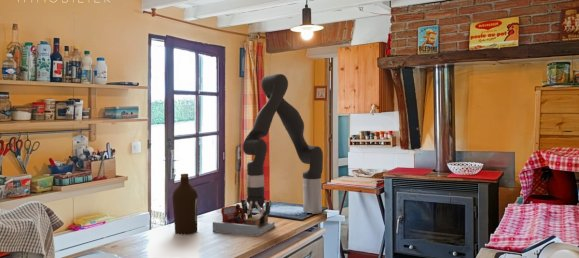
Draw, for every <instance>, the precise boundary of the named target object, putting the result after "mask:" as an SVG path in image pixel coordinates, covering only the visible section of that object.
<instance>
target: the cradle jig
mask: <svg viewBox="0 0 579 258" xmlns="http://www.w3.org/2000/svg"><path fill="white" fill-rule="evenodd" d="M272 228H275V221H270V222H268V224H266V225H264V226H263V227H261V228H259V226H255V225H245V224H235V223H226V222H222V221H215V220H214V221H213V222H212V232H217V233H225V234H233V235H242V236H248V237H249V236H251V237H258V236H260V235H262V234H263V233H265V232H268V231H270V230H271V229H272Z"/></svg>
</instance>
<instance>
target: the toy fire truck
mask: <svg viewBox="0 0 579 258" xmlns="http://www.w3.org/2000/svg"><path fill="white" fill-rule="evenodd" d="M220 213H221V215H222V217H221V218H222V219H221V220H222V221H221V222H226V223H235V224H245V225H246V219H247V214H246V213H243V209H242V207H241V205H240V204H239V203H237V204H236V205H229V206H224V207H222V208H221V211H220Z"/></svg>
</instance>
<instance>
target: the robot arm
mask: <svg viewBox="0 0 579 258" xmlns="http://www.w3.org/2000/svg"><path fill="white" fill-rule="evenodd" d="M288 80H289V79H288V78H287V76H286V75H284V74H282V73H277V74H270V75H265V76H264V77H262V78H261V83H260V84H261V85H260V86H261V89H262V90H263V93H264V95H265V96H266V97H267V101H266V103H265V104H264V105H263V106H262V108H261V109H260V110H259V111H258V114H257V115H256V118H255V119H254V122H253V126H252V129H251V130H250V131H249V133H248V134H247V136H246V138H245V139H244V141H243V144H242V150H243V153H244V154H245V155H248V156H254V158H253V160H249V161H248V162H247V164H246V171H247V173H246V196H247V198H243V199H241V200H240V203H241V208H242V209H243V213H245V215H246V219H248V218H250V217H252V216H253V214H252V213H253V211H254V209H257V210H258V213H260V214H261V225H263V224H265V222H266V220H265V219H266V217H265V216H266V215H268V216H269V215H270V213H271V208H272V207H271V206H272V200H266V198H265V194H266V193H265V175H264V171H265V170H264V163H265V161H266V155H267V152H268V146H267V142H266V141H265V140H264V139H261V138H264V137H266V136H267V135H269V131H270V128H271V126H272V122H273V118H274V117H275V114H277V116H278V117H279V119H280V121H281V123H282V125H283V127H284V128H285V130H286V132H287V133H288V137H289V138H290V140H291V143H292V144H293V146H294V148H295V152H296V154H297V156H298V157H297V158H299V160H300V162H301V163H303V164H304V165H305V164H306V165H309V169H308V170H305V171H303V173H302V203H303V204H302V206H303V207H302V208H303V209H302V210H303V211H304V212H308V213H312V214H311V215H316V214H317V215H318V214H321V213H323V212H322V210H323V208H322V207H323V206H322V205H323V204H322V201H323V200H322V173H323V169H324V168H323V167H324V166H323V165H324V152H323V150H322V148H321V147H320V146H317V145H310V144H308V142H307V141H306V139H305V137H304V132H305V122H304V121H303V120H304V119H302V116H301V115H300V112H299V111H298V110H297V109H296V108H295V107H294V106H293V105H292V104H290V102H288V101H287V100H286V99H285V98H284V97H285V95H286V92H287V90H288V87H289V81H288ZM303 211H302V212H303ZM304 212H303V213H304Z"/></svg>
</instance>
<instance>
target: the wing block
mask: <svg viewBox="0 0 579 258" xmlns="http://www.w3.org/2000/svg"><path fill="white" fill-rule="evenodd" d="M265 217H266V219H265V220H266V222H265V224H263V225H261V214H260V212H258V213H257V214H255V215H252V217H250V218H248V219H247V218H246V225H255V226H259V228H261V227H263V226H264V225H266V224H268V223H269V214H268V215H266V216H265Z"/></svg>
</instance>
